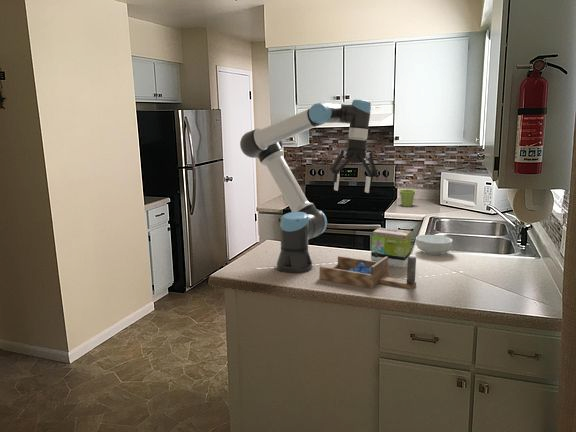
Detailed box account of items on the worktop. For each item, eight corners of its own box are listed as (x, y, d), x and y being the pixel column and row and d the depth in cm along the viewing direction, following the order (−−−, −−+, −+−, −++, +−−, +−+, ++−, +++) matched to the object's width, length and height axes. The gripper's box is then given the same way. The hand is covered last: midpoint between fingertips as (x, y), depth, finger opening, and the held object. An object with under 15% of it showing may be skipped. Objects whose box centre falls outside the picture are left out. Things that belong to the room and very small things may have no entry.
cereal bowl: (442, 260, 220) (443, 244, 219) (408, 253, 231) (409, 239, 229) (457, 252, 233) (458, 237, 231) (424, 246, 243) (425, 232, 242)
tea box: (370, 264, 214) (371, 231, 212) (377, 258, 223) (378, 226, 220) (404, 268, 208) (405, 235, 205) (410, 262, 216) (411, 230, 213)
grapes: (380, 262, 189) (349, 264, 188) (380, 280, 190) (350, 281, 188) (372, 259, 201) (343, 261, 200) (372, 276, 201) (344, 277, 200)
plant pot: (401, 204, 363) (401, 189, 361) (417, 205, 357) (417, 190, 355) (396, 206, 353) (396, 191, 351) (412, 208, 347) (413, 192, 345)
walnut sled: (421, 280, 192) (422, 252, 189) (407, 294, 177) (408, 264, 174) (338, 267, 210) (339, 241, 207) (319, 278, 194) (319, 250, 192)
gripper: (381, 141, 204) (375, 191, 208) (325, 136, 198) (319, 188, 201) (389, 142, 197) (383, 194, 201) (331, 136, 191) (325, 190, 194)
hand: (351, 191), depth 201 cm, fingers open, 13 cm apart
